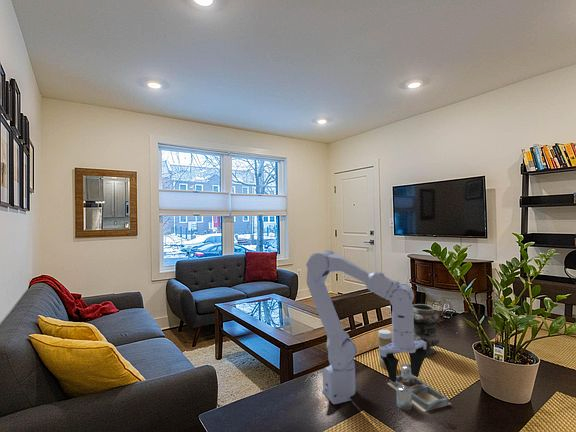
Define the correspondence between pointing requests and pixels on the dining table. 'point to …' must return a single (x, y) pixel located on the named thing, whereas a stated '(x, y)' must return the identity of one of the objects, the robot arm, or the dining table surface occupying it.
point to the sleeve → (404, 397)
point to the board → (423, 395)
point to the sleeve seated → (407, 376)
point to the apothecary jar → (426, 327)
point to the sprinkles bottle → (384, 342)
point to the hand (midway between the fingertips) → (403, 377)
